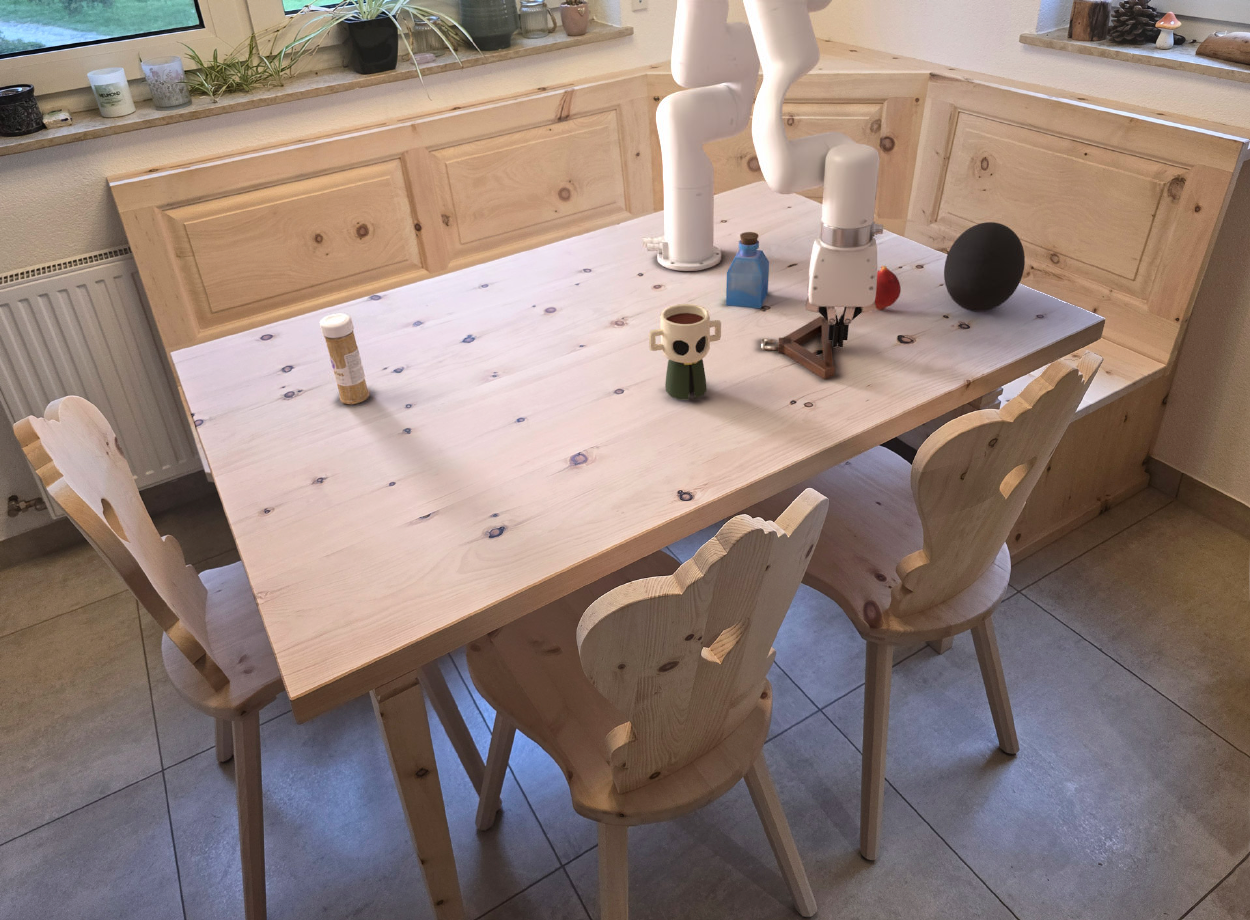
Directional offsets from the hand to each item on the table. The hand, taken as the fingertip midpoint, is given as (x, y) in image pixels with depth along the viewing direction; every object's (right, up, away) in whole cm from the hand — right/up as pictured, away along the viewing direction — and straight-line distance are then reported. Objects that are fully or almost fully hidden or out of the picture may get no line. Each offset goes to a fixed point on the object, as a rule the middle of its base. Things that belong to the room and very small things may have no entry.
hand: (837, 343), depth 142 cm
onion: (+10, +7, +12) cm, 18 cm away
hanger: (-6, -1, +2) cm, 7 cm away
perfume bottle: (-12, +10, +18) cm, 24 cm away
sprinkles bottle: (-76, -9, -4) cm, 76 cm away
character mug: (-25, -9, -7) cm, 27 cm away
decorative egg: (+26, +7, +11) cm, 29 cm away
